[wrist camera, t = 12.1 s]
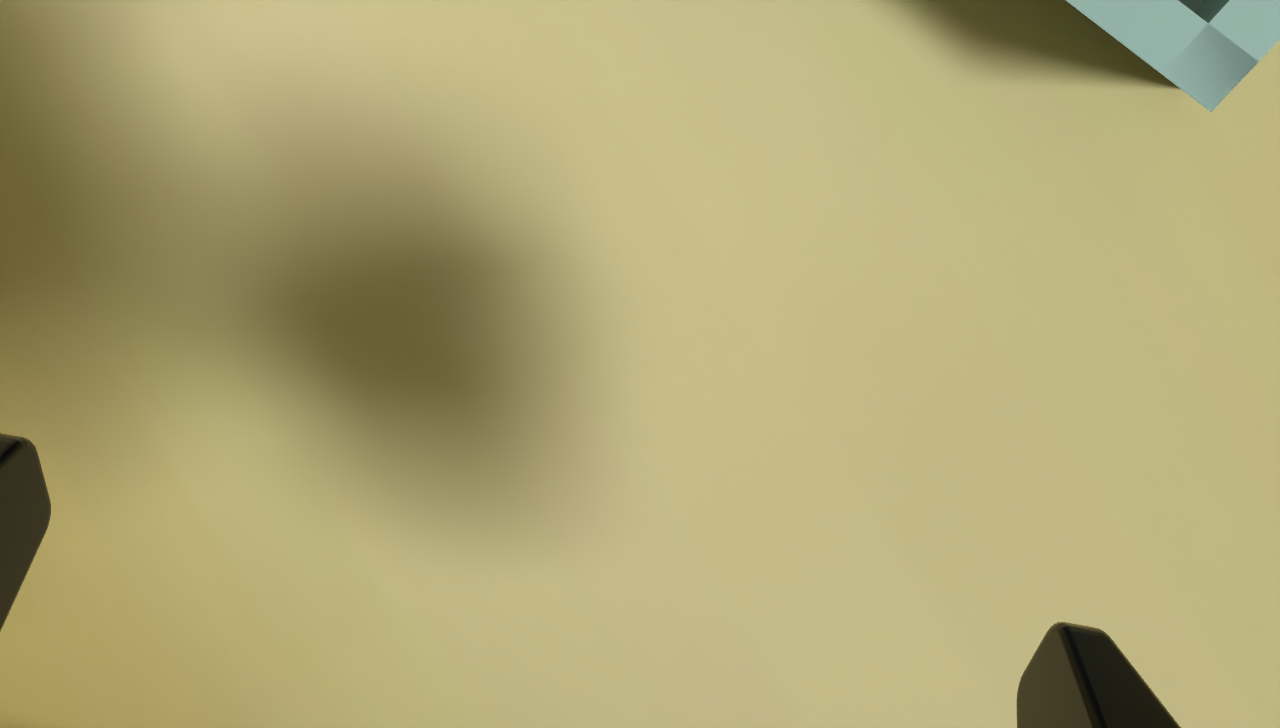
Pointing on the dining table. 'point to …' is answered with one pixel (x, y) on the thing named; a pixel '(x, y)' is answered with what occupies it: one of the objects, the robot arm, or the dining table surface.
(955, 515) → the dining table surface
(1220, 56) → the tray
